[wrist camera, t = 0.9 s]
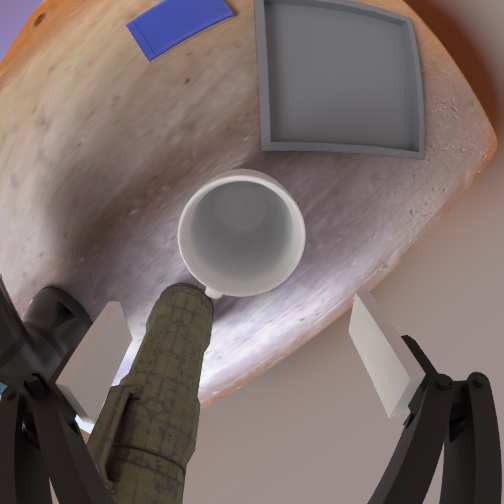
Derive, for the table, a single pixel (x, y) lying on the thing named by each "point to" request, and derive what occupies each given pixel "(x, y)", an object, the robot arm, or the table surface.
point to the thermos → (156, 404)
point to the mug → (241, 234)
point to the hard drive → (175, 24)
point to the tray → (338, 79)
